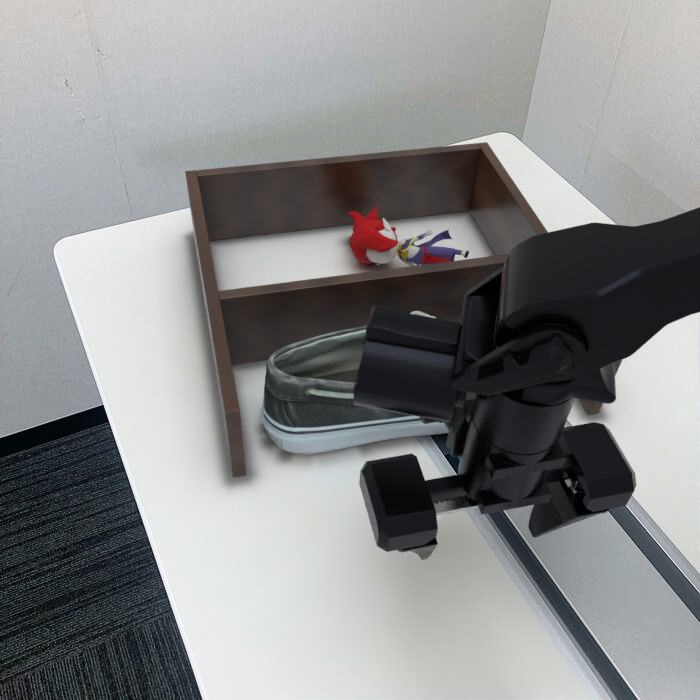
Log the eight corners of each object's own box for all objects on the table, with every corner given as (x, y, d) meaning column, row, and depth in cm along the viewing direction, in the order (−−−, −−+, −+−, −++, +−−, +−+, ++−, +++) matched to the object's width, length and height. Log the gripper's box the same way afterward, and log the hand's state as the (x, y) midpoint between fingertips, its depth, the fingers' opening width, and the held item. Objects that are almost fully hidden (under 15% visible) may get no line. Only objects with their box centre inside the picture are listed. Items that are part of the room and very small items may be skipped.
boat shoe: (564, 401, 74) (592, 327, 66) (287, 495, 65) (285, 421, 58) (508, 332, 80) (528, 257, 73) (250, 408, 71) (243, 332, 64)
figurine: (454, 303, 82) (325, 270, 85) (469, 271, 88) (349, 241, 92) (465, 250, 78) (330, 217, 81) (480, 221, 85) (355, 191, 88)
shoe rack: (474, 204, 96) (487, 141, 89) (599, 413, 73) (627, 349, 66) (193, 236, 89) (185, 170, 83) (232, 477, 66) (224, 412, 60)
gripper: (595, 313, 55) (547, 442, 66) (345, 348, 52) (339, 478, 63) (673, 433, 48) (604, 555, 59) (388, 483, 44) (372, 603, 55)
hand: (478, 542), depth 59 cm, fingers open, 9 cm apart
